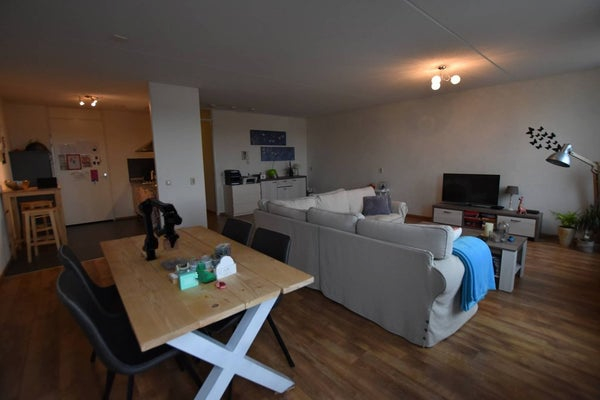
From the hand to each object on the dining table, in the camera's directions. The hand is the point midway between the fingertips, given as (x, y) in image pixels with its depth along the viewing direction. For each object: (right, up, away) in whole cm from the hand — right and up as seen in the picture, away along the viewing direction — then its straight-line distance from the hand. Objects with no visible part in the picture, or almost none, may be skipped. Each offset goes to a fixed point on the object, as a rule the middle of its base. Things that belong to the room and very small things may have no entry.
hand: (171, 247), depth 183 cm
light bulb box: (+32, -11, +8) cm, 34 cm away
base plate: (+2, -12, +3) cm, 12 cm away
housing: (0, -2, 0) cm, 2 cm away
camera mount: (+29, -15, -21) cm, 39 cm away
